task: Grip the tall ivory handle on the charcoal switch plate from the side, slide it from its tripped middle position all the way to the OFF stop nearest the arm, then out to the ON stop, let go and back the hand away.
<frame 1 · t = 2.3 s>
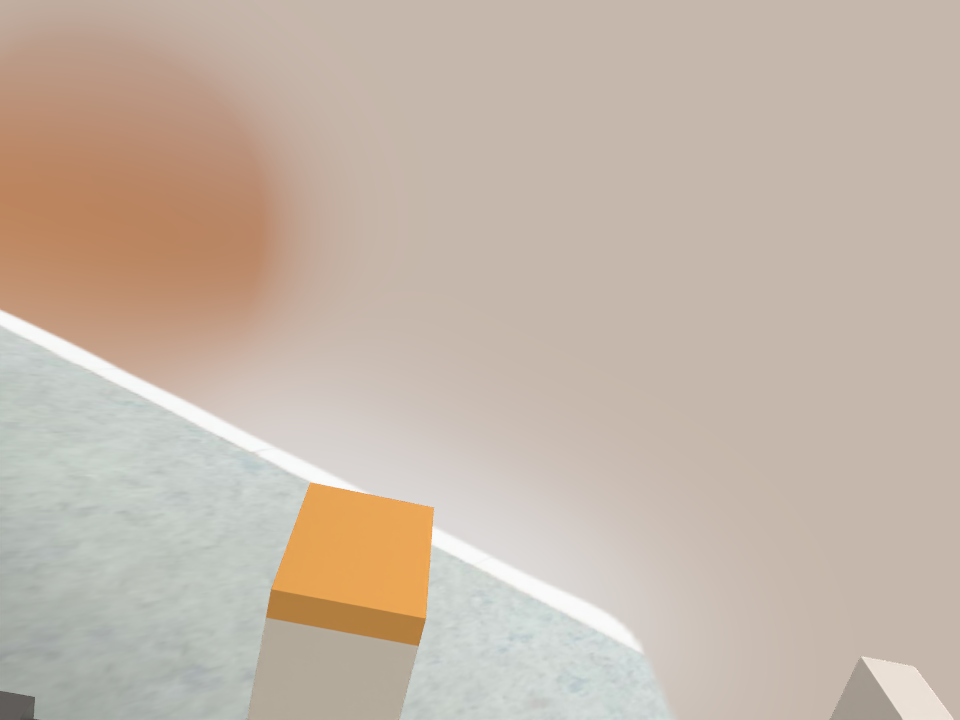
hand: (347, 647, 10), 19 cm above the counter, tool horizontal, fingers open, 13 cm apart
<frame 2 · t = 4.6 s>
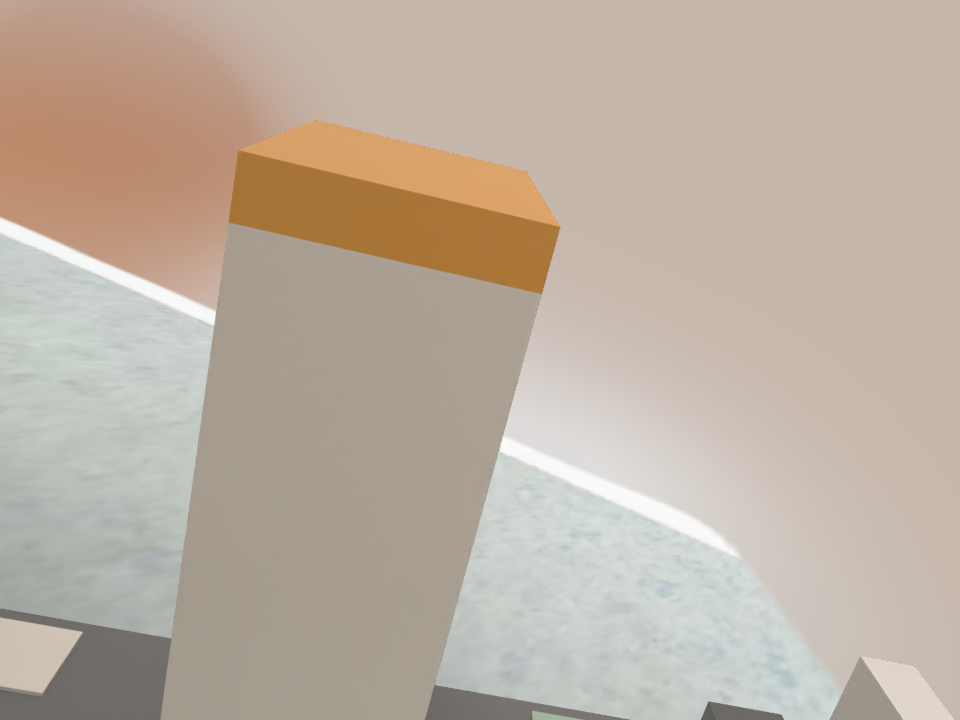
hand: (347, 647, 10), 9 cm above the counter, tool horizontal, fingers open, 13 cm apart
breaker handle: (333, 550, 13), point 8 cm above the counter, slide at 0.0 cm
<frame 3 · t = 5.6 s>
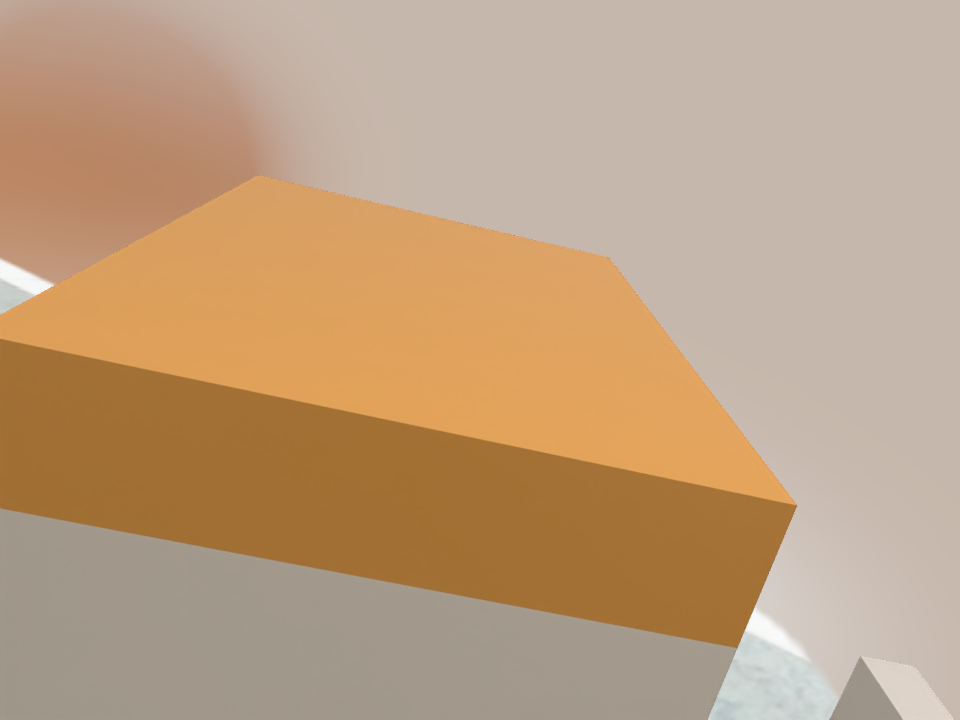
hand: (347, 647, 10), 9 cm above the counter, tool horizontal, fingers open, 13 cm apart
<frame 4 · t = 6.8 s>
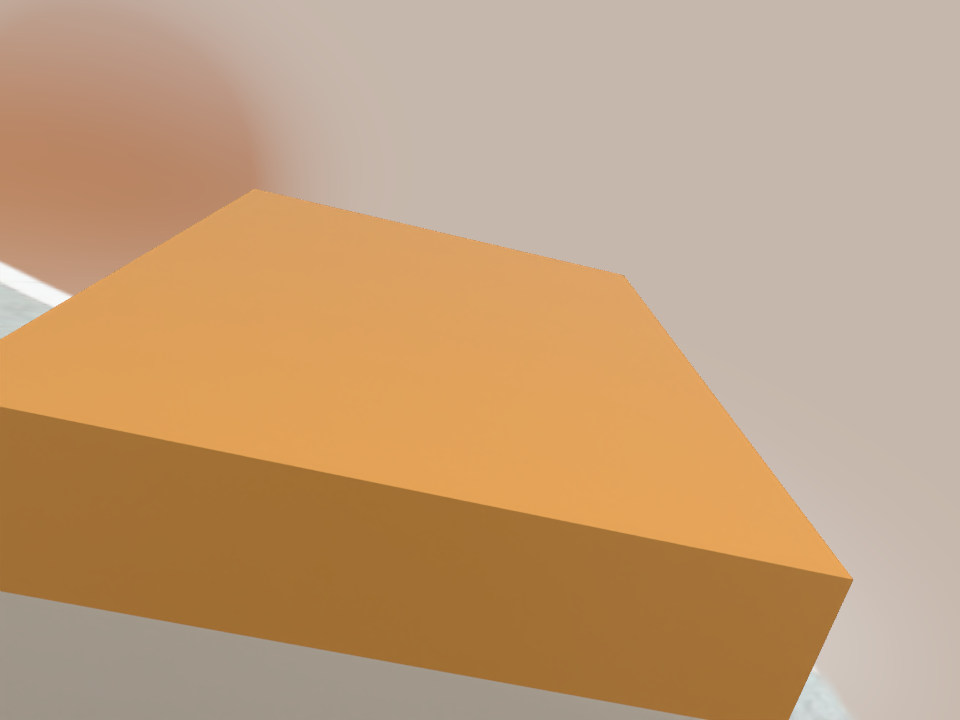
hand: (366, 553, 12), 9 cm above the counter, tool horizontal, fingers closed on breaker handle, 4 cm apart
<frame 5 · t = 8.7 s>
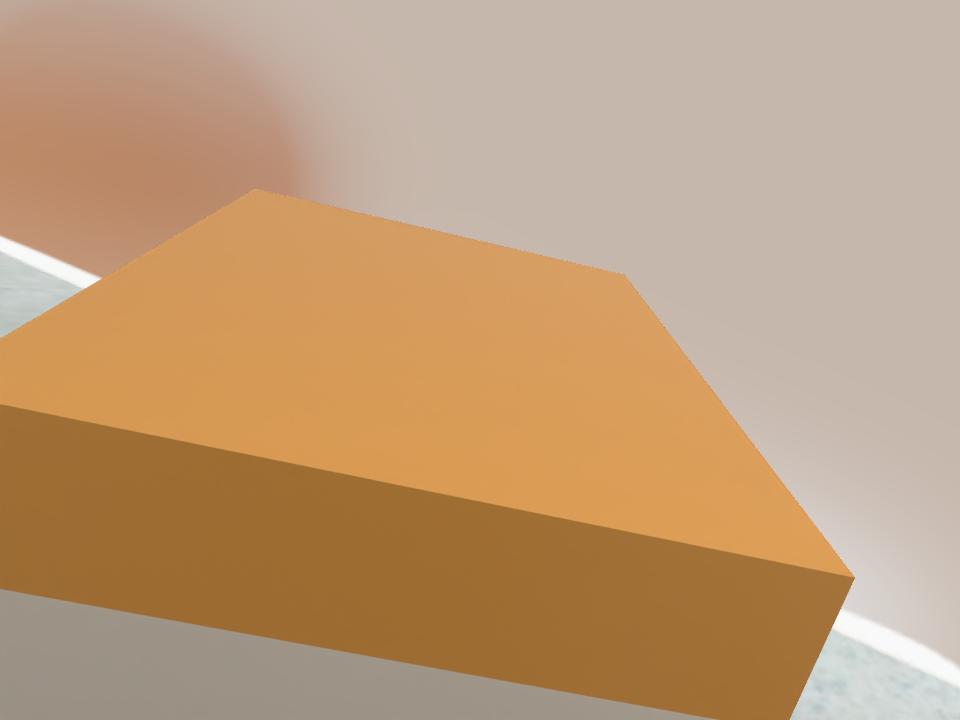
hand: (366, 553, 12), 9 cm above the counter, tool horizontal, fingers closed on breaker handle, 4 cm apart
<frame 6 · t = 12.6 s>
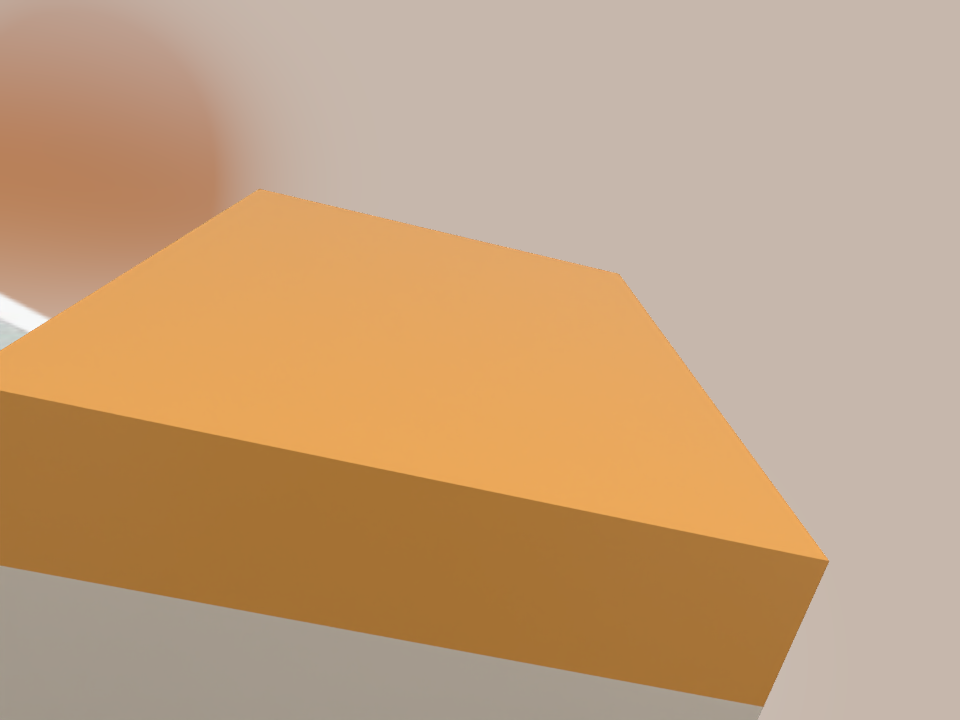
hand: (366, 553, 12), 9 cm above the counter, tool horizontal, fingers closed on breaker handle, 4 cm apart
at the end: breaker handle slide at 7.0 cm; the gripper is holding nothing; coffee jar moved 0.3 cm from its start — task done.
